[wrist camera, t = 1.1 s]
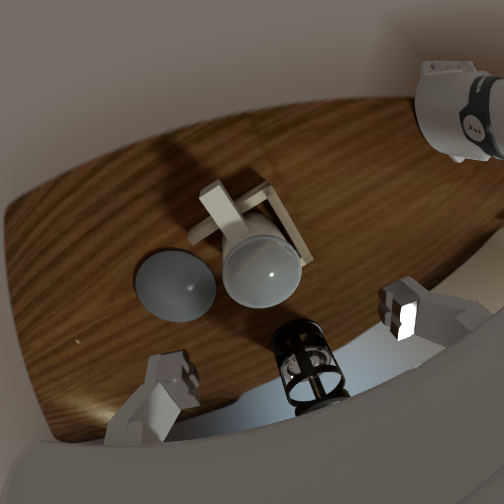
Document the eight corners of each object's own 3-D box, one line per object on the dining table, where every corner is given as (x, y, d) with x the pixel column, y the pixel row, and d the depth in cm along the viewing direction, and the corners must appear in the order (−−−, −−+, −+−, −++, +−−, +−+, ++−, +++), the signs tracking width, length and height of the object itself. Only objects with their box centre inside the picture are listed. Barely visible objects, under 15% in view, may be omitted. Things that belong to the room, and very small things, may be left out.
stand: (266, 180, 35) (270, 184, 32) (306, 250, 40) (313, 259, 37) (189, 229, 36) (187, 237, 34) (236, 292, 41) (238, 304, 38)
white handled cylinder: (291, 247, 39) (313, 282, 30) (241, 278, 40) (249, 320, 31) (238, 161, 34) (247, 171, 25) (182, 197, 35) (172, 220, 25)
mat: (183, 233, 36) (182, 235, 36) (231, 296, 41) (232, 298, 41) (120, 277, 38) (119, 279, 37) (170, 331, 43) (170, 333, 42)
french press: (260, 330, 45) (292, 455, 24) (312, 307, 44) (372, 421, 23) (284, 369, 50) (316, 474, 29) (329, 349, 49) (377, 449, 28)
